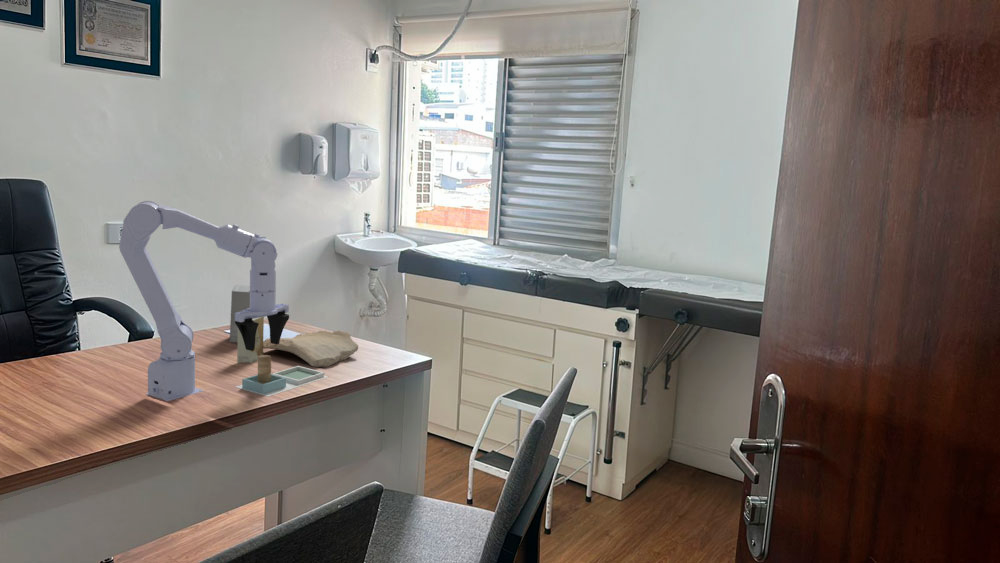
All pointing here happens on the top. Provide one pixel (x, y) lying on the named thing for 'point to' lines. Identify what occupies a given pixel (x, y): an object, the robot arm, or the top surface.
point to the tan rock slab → (317, 347)
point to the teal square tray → (253, 384)
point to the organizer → (294, 378)
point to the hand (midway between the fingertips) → (262, 346)
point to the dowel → (264, 369)
